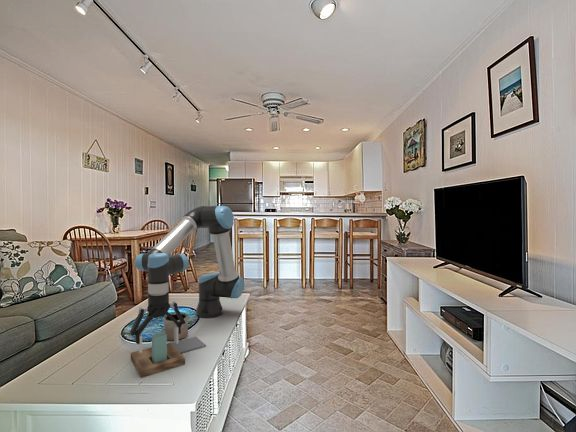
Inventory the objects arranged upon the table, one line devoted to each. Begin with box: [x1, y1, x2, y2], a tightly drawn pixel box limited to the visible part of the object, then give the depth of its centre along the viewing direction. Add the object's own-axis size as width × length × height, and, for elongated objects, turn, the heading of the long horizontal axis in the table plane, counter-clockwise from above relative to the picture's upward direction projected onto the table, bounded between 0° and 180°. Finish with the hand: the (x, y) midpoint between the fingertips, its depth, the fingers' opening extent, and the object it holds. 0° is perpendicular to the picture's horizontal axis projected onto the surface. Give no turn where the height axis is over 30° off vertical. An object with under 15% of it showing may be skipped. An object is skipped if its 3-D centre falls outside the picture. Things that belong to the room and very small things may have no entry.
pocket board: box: [130, 342, 186, 379], centre depth 126 cm, size 16×18×2 cm
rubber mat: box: [170, 336, 207, 354], centre depth 141 cm, size 12×12×1 cm
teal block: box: [151, 330, 168, 364], centre depth 124 cm, size 4×4×12 cm
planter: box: [163, 312, 189, 342], centre depth 151 cm, size 11×11×10 cm
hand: (158, 346), depth 124 cm, fingers open, 13 cm apart
